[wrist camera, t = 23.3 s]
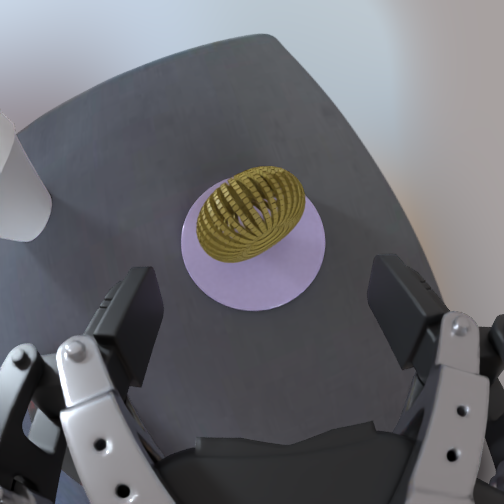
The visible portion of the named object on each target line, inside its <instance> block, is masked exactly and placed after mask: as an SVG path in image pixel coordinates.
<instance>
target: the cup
mask: <svg viewBox="0 0 504 504" xmlns="http://www.w3.org/2000/svg"><path fill="white" fill-rule="evenodd" d="M51 208H52V199H51V196H50V194H49V192H48V191H47V189H46V187H45V186H44V184H43V182H42V181H41V179H40V178H39V176H38V174H37V172H36V171H35V169H34V167H33V166H32V164H31V162H30V160H29V158H28V157H27V155H26V153H25V151H24V149H23V147H22V145H21V143H20V142H19V140H18V138H17V136H16V134H15V125H14V123H13V122H12V121H11V120H9V119H8V118H7V117H6V116H5V115H4V114H3V113H2V112H1V111H0V238H3V239H9V240H15V241H22V242H29V241H32V240H33V239H35V238H36V237H37V236H38V235H39V234H40V233H41V232H42V230H43V229H44V227H45V226H46V224H47V221H48V219H49V216H50V213H51Z"/></svg>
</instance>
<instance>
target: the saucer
mask: <svg viewBox="0 0 504 504" xmlns="http://www.w3.org/2000/svg"><path fill="white" fill-rule="evenodd" d="M232 178H233V177H232ZM229 179H230V178H229ZM227 180H228V179H226V180H224V181H221V182H219V183H217V184H216V185H214V186H212V187H211V188H209V189H208V190H207V191H206V192H204V193H203V194H202V195H201V196H200V197H199V198H198V199H197V201H196V202H195V203H194V205H193V206H192V207H191V209H190V211H189V213H188V215H187V217H186V220H185V222H184V226H183V230H182V237H181V250H182V255H183V260H184V263H185V266H186V268H187V270H188V272H189V275H190V276H191V278H192V279H193V281H194V282H195V284H196V285H197V286H198V287H199V288H200V289H201V290H202V291H203V292H204V293H205V294H207V295H208V296H209V297H210V298H212V299H213V300H215V301H216V302H218V303H220V304H222V305H225V306H227V307H230V308H233V309H237V310H243V311H264V310H269V309H273V308H277V307H279V306H282V305H284V304H286V303H288V302H290V301H291V300H293V299H295V298H296V297H297V296H299V295H300V294H301V293H302V292H303V291H304V290H305V289H306V288H307V287H308V286H309V285H310V284H311V282H312V281H313V280H314V278H315V277H316V275H317V273H318V271H319V269H320V267H321V264H322V261H323V257H324V252H325V233H324V228H323V224H322V221H321V218H320V216H319V214H318V212H317V210H316V208H315V207H314V205H313V204H312V202H311V201H310V200H309V199H308V198H307V197H306V196H305V197H306V198H305V200H306V204H305V210H304V212H303V215H302V217H301V219H300V221H299V222H298V224H297V225H296V226H295V228H294V229H293V230H292V231H291V232H290V233H289V234H288V235H287V236H286V237H284V238H283V239H282V240H281V241H280V242H278V243H277V244H276V245H273V247H271V248H270V249H268V250H266V251H265V252H263V253H261V254H259V255H257V256H255V257H253V258H251V259H248V260H246V261H242V262H237V263H224V262H220V261H217V260H215V259H213V258H212V257H210V256H209V255H208V254H207V253H206V252H205V251H204V250H203V249H202V247H201V246H200V243H199V241H198V238H197V234H196V227H197V226H196V225H197V224H196V223H197V218H198V215H199V212H200V210H201V209H202V206H203V204H204V203H205V201H206V200H207V199H208V197H209V196H210V195H211V194H212V193H213V192H214V191H215V190H216V189H217V188H218V187H220V185H221V184H223V183H224V182H226V184H228V185H229V183H228V181H227ZM280 189H281V188H280ZM274 199H276V198H274ZM264 200H265V201H267V200H266V199H264ZM283 205H284V204H283ZM253 207H254V208H255V210H256V211H257V212H258V213H259V215H260V216H261V217H262V219H263V220H264V218H263V217H264V216H263V215H262V212H261V211H259V210H258V209H257V208H256V207H255V206H253ZM265 207H266V206H265ZM268 211H269V214H270V210H269V209H268ZM270 216H271V214H270ZM238 218H239V219H238V220H239V222H240V224H241V226H242V227H245V226H243V224H242V222H241V219H240V217H239V215H238ZM218 229H219V228H218ZM234 230H235V232H237V233H238V231H237V229H234ZM251 231H252V230H251ZM215 238H216V237H215ZM230 238H232V237H230Z"/></svg>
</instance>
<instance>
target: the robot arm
mask: <svg viewBox="0 0 504 504" xmlns="http://www.w3.org/2000/svg"><path fill="white" fill-rule="evenodd" d="M367 298H368V304H369V306H370V308H371V310H372V312H373V314H374V316H375V317H376V319H377V321H378V323H379V325H380V327H381V329H382V331H383V333H384V335H385V337H386V338H387V340H388V342H389V344H390V346H391V348H392V350H393V352H394V354H395V356H396V359H397V361H398V363H399V365H400V367H401V369H402V370H404V369H408V368H412V367H414V368H415V369H416V372H415V374H414V376H413V379H412V382H411V386H410V389H409V392H408V395H407V399H406V402H405V405H404V408H403V410H402V413H401V416H400V419H399V421H398V423H397V425H396V427H395V428H394V430H393V432H392V433H391V432H384V431H376V429H375V426H374V423H373V421H370V422H366V423H361V424H357V425H352V426H347V427H342V428H337V429H332V430H330V431H327V432H325V433H322V434H320V435H317V436H314V437H312V438H309V439H306V440H304V441H301V442H298V443H295V444H292V445H280V444H273V443H266V442H260V441H255V440H249V439H244V438H205V437H196V446H195V448H190V449H186V450H182V451H179V452H176V453H174V454H171V455H169V456H167V457H165V456H164V455H163V454H162V452H161V451H160V449H159V448H158V447H157V445H156V444H155V443H154V441H153V440H152V438H151V436H150V435H149V433H148V431H147V430H146V428H145V426H144V424H143V423H142V421H141V419H140V417H139V415H138V413H137V412H136V410H135V408H134V406H133V404H132V402H131V400H130V398H129V396H128V395H127V392H128V389H129V386H133V387H142V384H143V380H144V377H145V373H146V370H147V366H148V363H149V360H150V356H151V353H152V350H153V347H154V343H155V340H156V337H157V334H158V331H159V328H160V325H161V322H162V319H163V313H164V307H163V301H162V297H161V293H160V290H159V286H158V282H157V278H156V274H155V271H154V269H153V267H132V268H131V269H130V271H129V272H128V274H127V276H126V277H125V279H124V280H123V281H120V282H118V283H117V284H116V285H115V286H114V287H112V288H111V289H110V290H109V292H108V293H107V295H106V297H105V298H104V301H103V302H102V303H101V305H100V308H98V310H97V312H96V313H95V315H94V317H93V318H92V320H91V322H90V324H89V325H88V327H87V329H86V331H85V332H84V334H83V335H76V336H73V337H71V338H69V339H68V340H66V341H65V342H64V343H63V344H62V345H61V346H60V347H59V349H58V351H57V353H54V354H47V355H41V356H40V354H39V353H38V351H37V349H36V348H35V346H34V345H32V344H29V343H26V344H21V345H19V346H17V347H16V348H14V349H13V350H12V351H11V352H10V353H9V355H8V356H7V358H6V360H5V361H4V363H3V365H2V367H1V369H0V504H55V499H56V493H57V488H58V482H59V477H60V473H61V468H62V464H63V459H64V455H65V451H66V447H67V444H68V447H69V450H70V453H71V456H72V459H73V462H74V465H75V467H76V470H77V473H78V475H79V478H80V480H81V483H82V485H83V487H84V490H85V492H86V494H87V496H88V498H89V501H90V503H91V504H504V389H503V387H502V385H501V383H500V381H499V379H498V376H499V375H500V374H501V372H502V371H503V370H504V314H502V315H499V316H497V317H496V319H495V321H494V323H493V325H492V327H478V325H477V323H476V322H475V321H474V320H473V319H472V318H471V317H470V316H468V315H467V314H464V313H462V312H458V311H452V312H450V310H449V309H448V308H447V307H446V305H445V304H444V303H443V302H442V300H441V299H440V298H439V297H438V295H437V294H436V293H435V292H434V291H433V289H432V290H431V287H430V286H429V285H428V283H425V280H424V279H423V278H422V277H421V275H420V274H419V273H418V272H416V271H415V270H413V269H412V268H410V267H408V266H406V265H405V264H404V263H403V261H402V260H401V259H400V258H399V257H398V256H397V255H396V254H385V255H376V256H375V258H374V261H373V266H372V271H371V276H370V281H369V286H368V291H367ZM30 401H32V402H33V403H34V404H35V405H36V406H37V407H38V409H37V412H36V414H35V417H34V420H33V423H32V425H31V428H30V431H29V434H28V437H26V436H25V435H24V433H23V429H22V422H23V419H24V416H25V414H26V411H27V409H28V406H29V404H30ZM484 438H485V439H486V442H487V445H488V447H489V450H490V453H491V456H492V459H493V462H494V465H495V469H496V475H495V476H494V477H492V478H491V480H490V483H489V484H488V483H486V482H484V481H482V480H480V479H478V478H476V477H477V473H478V469H479V465H480V460H481V455H482V450H483V445H484Z"/></svg>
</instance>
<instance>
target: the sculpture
mask: <svg viewBox="0 0 504 504" xmlns="http://www.w3.org/2000/svg"><path fill="white" fill-rule="evenodd" d="M227 181H228V183H229V185H228V184H226V182H224V183H223V184H221V185H220V187H218V188H217V189H216V190H215V191H214V192H213V193H212V194H211V195H210V196H209V197H208V199H207V200H206V201H205V203H204V204H203V206H202V209H201V210H200V212H199V215H198V218H197V223H196V224H197V225H196V226H197V227H196V234H197V238H198V241H199V243H200V246H201V247H202V249H203V250H204V251H205V252H206V253H207V254H208V255H209V256H210V257H212V258H213V259H215V260H217V261H220V262H224V263H237V262H242V261H246V260H248V259H251V258H253V257H255V256H257V255H259V254H261V253H263V252H265V251H266V250H268V249H270V248H271V247H273V245H276V244H277V243H278V242H280V241H281V240H282V239H283V238H284V237H286V236H287V235H288V234H289V233H290V232H291V231H292V230H293V229H294V228H295V226H296V225H297V224H298V222H299V221H300V219H301V217H302V215H303V212H304V210H305V204H306V200H305V198H306V197H305V193H304V189H303V187H302V184H301V183H300V182H299V180H298V179H297V178H296V177H294V175H293V174H292V173H290V172H289V171H286V170H284V169H282V168H279V167H273V166H269V167H268V166H266V167H265V166H264V167H263V166H261V167H257V168H256V167H255V168H252V169H249V170H245V171H243V172H241V173H238V174H237V175H235V176H234V177H233V178H230V179H228V180H227ZM280 188H281V189H280ZM274 198H276V199H274ZM264 199H266V200H267V201H265V200H264ZM283 204H284V205H283ZM253 206H255V207H256V208H257V209H258V210H259V211H261V212H262V215H263V216H264V217H263V218H264V220H263V219H262V217H261V216H260V215H259V213H258V212H257V211H256V210H255V208H254V207H253ZM265 206H266V207H265ZM268 209H269V210H270V214H271V216H270V214H269V211H268ZM238 215H239V217H240V219H241V222H242V224H243V226H245V227H242V226H241V224H240V222H239V220H238V219H239V218H238ZM218 228H219V229H218ZM234 229H237V231H238V233H237V232H235V230H234ZM251 230H252V231H251ZM215 237H216V238H215ZM230 237H232V238H230Z"/></svg>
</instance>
